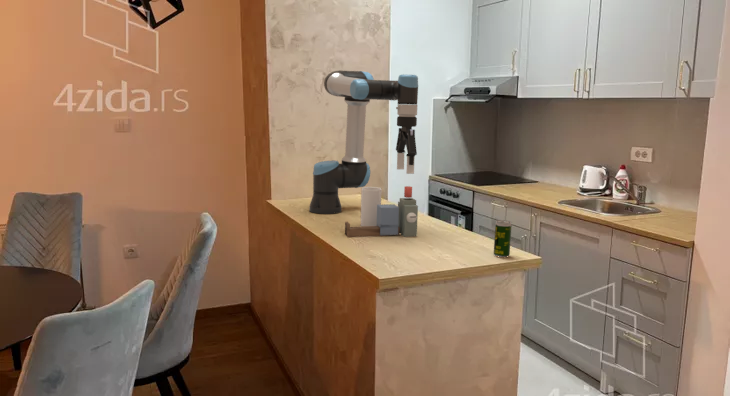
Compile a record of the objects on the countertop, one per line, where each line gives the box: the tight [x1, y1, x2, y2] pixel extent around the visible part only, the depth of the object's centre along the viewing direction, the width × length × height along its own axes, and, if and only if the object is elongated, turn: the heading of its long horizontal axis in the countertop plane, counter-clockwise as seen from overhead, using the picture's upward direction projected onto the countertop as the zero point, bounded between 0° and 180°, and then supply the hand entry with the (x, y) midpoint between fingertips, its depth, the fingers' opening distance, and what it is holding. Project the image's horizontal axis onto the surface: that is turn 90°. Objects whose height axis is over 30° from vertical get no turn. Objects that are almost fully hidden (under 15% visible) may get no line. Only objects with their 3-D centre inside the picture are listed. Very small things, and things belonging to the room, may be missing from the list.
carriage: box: [377, 203, 399, 236], centre depth 218 cm, size 6×7×11 cm
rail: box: [344, 221, 401, 238], centre depth 217 cm, size 5×21×5 cm, turn 103°
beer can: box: [493, 219, 512, 258], centre depth 190 cm, size 5×5×12 cm
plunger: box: [403, 185, 413, 198], centre depth 218 cm, size 3×3×4 cm
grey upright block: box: [397, 197, 419, 238], centre depth 219 cm, size 11×5×14 cm, turn 13°
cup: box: [360, 186, 382, 226], centre depth 231 cm, size 8×8×16 cm
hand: (405, 171), depth 216 cm, fingers open, 13 cm apart
